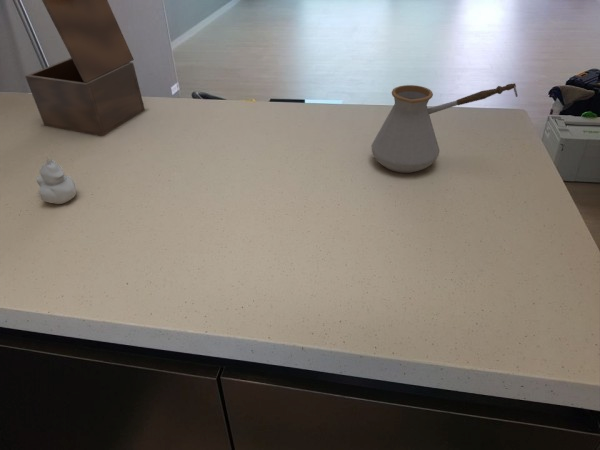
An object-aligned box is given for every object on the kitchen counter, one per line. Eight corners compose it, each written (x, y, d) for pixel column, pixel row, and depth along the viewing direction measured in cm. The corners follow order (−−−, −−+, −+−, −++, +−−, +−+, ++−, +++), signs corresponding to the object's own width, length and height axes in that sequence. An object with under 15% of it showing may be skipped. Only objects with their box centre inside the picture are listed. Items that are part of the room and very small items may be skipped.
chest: (44, 126, 96) (24, 75, 90) (90, 102, 106) (75, 55, 100) (102, 137, 91) (86, 84, 85) (145, 111, 101) (133, 62, 95)
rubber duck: (62, 213, 71) (43, 168, 66) (32, 204, 73) (11, 160, 68) (88, 195, 74) (72, 151, 70) (58, 187, 77) (41, 144, 72)
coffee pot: (367, 177, 77) (373, 90, 68) (373, 145, 86) (379, 65, 76) (501, 188, 73) (527, 98, 64) (492, 154, 82) (514, 71, 73)
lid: (34, -13, 76) (54, -21, 74) (92, -27, 86) (111, -34, 84) (84, 82, 85) (103, 78, 82) (131, 60, 95) (149, 56, 92)
